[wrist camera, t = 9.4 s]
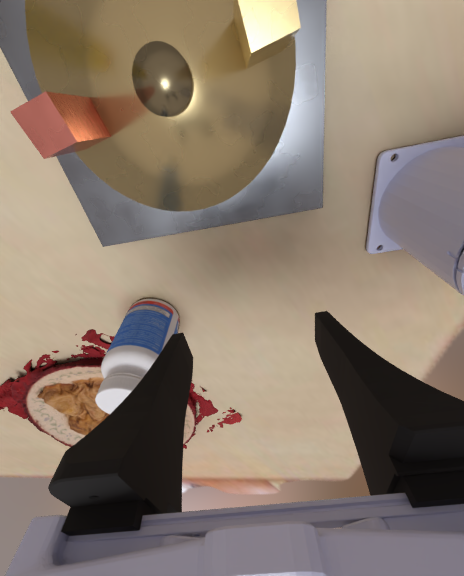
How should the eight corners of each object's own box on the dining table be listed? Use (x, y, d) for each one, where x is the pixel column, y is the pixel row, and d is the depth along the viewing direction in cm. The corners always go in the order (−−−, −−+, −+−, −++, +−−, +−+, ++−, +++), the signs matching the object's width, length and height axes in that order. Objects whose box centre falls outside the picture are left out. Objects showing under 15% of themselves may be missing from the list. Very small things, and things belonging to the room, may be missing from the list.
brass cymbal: (311, 161, 17) (340, 177, 13) (136, 231, 20) (108, 264, 15) (243, -210, 10) (252, -492, 5) (-18, -16, 13) (-159, -91, 8)
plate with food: (139, 455, 47) (134, 478, 44) (-11, 394, 35) (-33, 419, 32) (243, 409, 39) (245, 433, 36) (92, 306, 27) (76, 330, 24)
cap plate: (323, -248, 10) (332, -285, 9) (318, 203, 20) (323, 208, 19) (-66, -107, 12) (-91, -125, 11) (107, 241, 22) (102, 247, 21)
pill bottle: (118, 306, 26) (66, 391, 18) (163, 289, 25) (129, 373, 17) (148, 341, 29) (115, 428, 21) (189, 327, 28) (171, 414, 19)
